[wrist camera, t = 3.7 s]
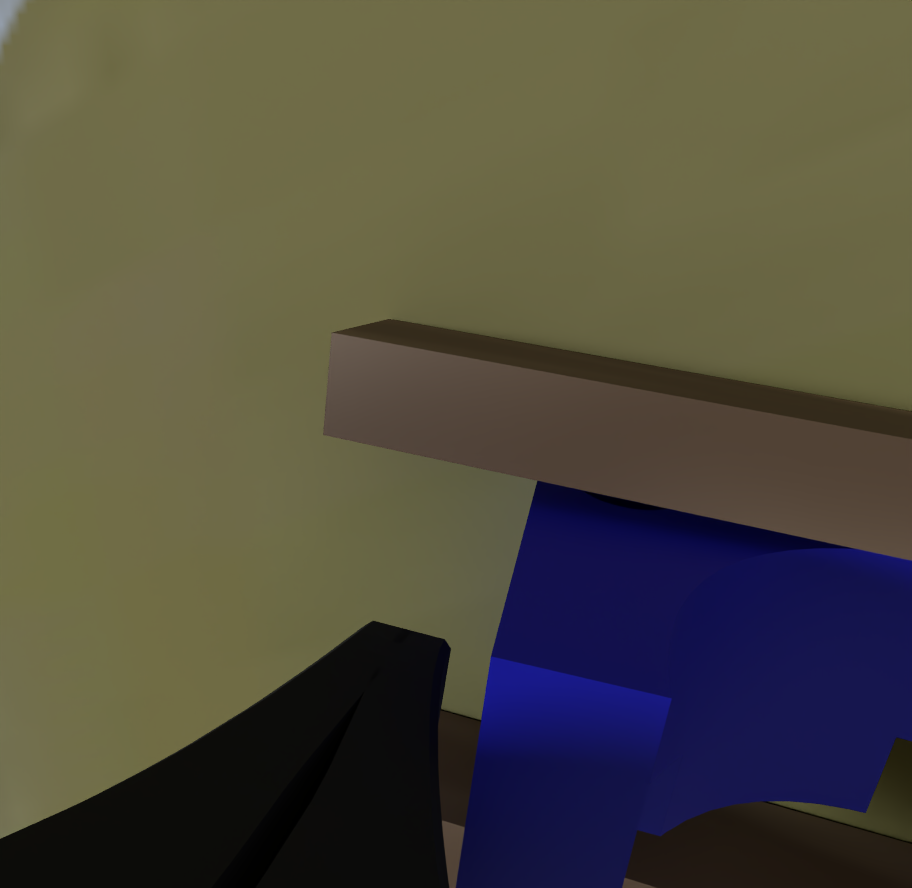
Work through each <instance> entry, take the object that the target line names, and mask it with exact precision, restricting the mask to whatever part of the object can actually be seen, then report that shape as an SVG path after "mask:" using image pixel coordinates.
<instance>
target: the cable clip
mask: <svg viewBox="0 0 912 888" xmlns="http://www.w3.org/2000/svg"><path fill="white" fill-rule="evenodd" d="M896 737H897V738H901V739H905V740H909V741H912V561H911V560H906V559H902V558H897V557H892V556H888V555H883V554H878V553H874V552H869V551H864V550H860V549H855V548H850V547H846V546H841V545H836V544H831V543H827V542H822V541H817V540H813V539H808V538H803V537H799V536H794V535H789V534H785V533H780V532H775V531H771V530H766V529H761V528H757V527H752V526H747V525H743V524H738V523H733V522H729V521H724V520H719V519H715V518H710V517H705V516H701V515H696V514H691V513H687V512H682V511H677V510H673V509H668V508H663V507H659V506H654V505H649V504H645V503H640V502H635V501H631V500H626V499H621V498H617V497H612V496H607V495H602V494H598V493H593V492H588V491H584V490H579V489H574V488H570V487H565V486H560V485H556V484H551V483H546V482H542V481H537V485H536V489H535V492H534V496H533V500H532V504H531V507H530V511H529V515H528V519H527V523H526V526H525V530H524V534H523V538H522V541H521V545H520V549H519V553H518V557H517V560H516V564H515V568H514V572H513V575H512V579H511V583H510V587H509V591H508V594H507V598H506V602H505V606H504V609H503V613H502V617H501V621H500V625H499V628H498V632H497V636H496V640H495V643H494V647H493V651H492V655H491V660H490V667H489V673H488V680H487V686H486V693H485V699H484V706H483V712H482V719H481V725H480V732H479V738H478V745H477V751H476V758H475V764H474V771H473V777H472V784H471V790H470V797H469V804H468V810H467V817H466V823H465V830H464V836H463V843H462V849H461V856H460V862H459V869H458V875H457V882H456V888H622V886H623V882H624V879H625V875H626V871H627V867H628V863H629V860H630V856H631V852H632V848H633V844H634V840H635V837H636V833H637V830H639V831H643V832H646V833H650V834H654V835H657V836H661V835H663V834H664V833H666V832H667V831H669V830H671V829H672V828H674V827H676V826H677V825H679V824H681V823H682V822H684V821H686V820H688V819H690V818H693V817H695V816H698V815H700V814H703V813H705V812H708V811H710V810H714V809H718V808H722V807H726V806H730V805H735V804H743V803H751V802H760V801H793V802H804V803H815V804H822V805H828V806H834V807H840V808H845V809H851V810H855V811H859V812H863V813H866V811H867V808H868V806H869V803H870V801H871V798H872V796H873V793H874V791H875V788H876V786H877V784H878V781H879V779H880V776H881V774H882V771H883V769H884V766H885V764H886V761H887V759H888V756H889V754H890V751H891V749H892V746H893V744H894V741H895V739H896Z"/></svg>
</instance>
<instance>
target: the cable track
mask: <svg viewBox="0 0 912 888" xmlns="http://www.w3.org/2000/svg"><path fill="white" fill-rule="evenodd" d="M323 435H327V436H331V437H336V438H341V439H345V440H350V441H355V442H359V443H364V444H369V445H373V446H378V447H383V448H387V449H392V450H397V451H402V452H406V453H411V454H416V455H420V456H425V457H430V458H434V459H439V460H444V461H448V462H453V463H458V464H462V465H467V466H472V467H476V468H481V469H486V470H490V471H495V472H500V473H504V474H509V475H514V476H518V477H523V478H528V479H532V480H537V481H542V482H546V483H551V484H556V485H560V486H565V487H570V488H574V489H579V490H584V491H588V492H593V493H598V494H602V495H607V496H612V497H617V498H621V499H626V500H631V501H635V502H640V503H645V504H649V505H654V506H659V507H663V508H668V509H673V510H677V511H682V512H687V513H691V514H696V515H701V516H705V517H710V518H715V519H719V520H724V521H729V522H733V523H738V524H743V525H747V526H752V527H757V528H761V529H766V530H771V531H775V532H780V533H785V534H789V535H794V536H799V537H803V538H808V539H813V540H817V541H822V542H827V543H831V544H836V545H841V546H846V547H850V548H855V549H860V550H864V551H869V552H874V553H878V554H883V555H888V556H892V557H897V558H902V559H906V560H911V561H912V412H910V411H905V410H899V409H894V408H888V407H882V406H877V405H871V404H865V403H860V402H854V401H848V400H843V399H837V398H831V397H826V396H820V395H814V394H809V393H803V392H798V391H792V390H786V389H781V388H775V387H769V386H764V385H758V384H752V383H747V382H741V381H735V380H730V379H724V378H719V377H713V376H707V375H702V374H696V373H690V372H685V371H679V370H673V369H668V368H662V367H656V366H651V365H645V364H640V363H634V362H628V361H623V360H617V359H611V358H606V357H600V356H594V355H589V354H583V353H577V352H572V351H566V350H561V349H555V348H549V347H544V346H538V345H532V344H527V343H521V342H515V341H510V340H504V339H498V338H493V337H487V336H482V335H476V334H470V333H465V332H459V331H453V330H448V329H442V328H436V327H431V326H425V325H419V324H414V323H408V322H403V321H397V320H391V319H387V320H383V321H379V322H375V323H370V324H366V325H362V326H358V327H354V328H349V329H345V330H341V331H337V332H332V337H331V349H330V361H329V373H328V385H327V397H326V409H325V421H324V433H323ZM480 725H481V722H480V721H476V720H473V719H469V718H466V717H462V716H459V715H455V714H452V713H448V712H445V711H440V717H439V723H438V768H439V788H440V802H441V815H442V827H443V838H444V847H445V856H446V865H447V873H448V881H449V888H456V882H457V875H458V869H459V862H460V856H461V849H462V843H463V836H464V830H465V823H466V817H467V810H468V804H469V797H470V790H471V784H472V777H473V771H474V764H475V758H476V751H477V745H478V738H479V732H480ZM622 888H912V844H910V843H906V842H903V841H899V840H896V839H892V838H889V837H885V836H882V835H878V834H874V833H871V832H867V831H864V830H860V829H857V828H853V827H850V826H846V825H843V824H839V823H836V822H832V821H829V820H825V819H822V818H818V817H815V816H811V815H808V814H804V813H801V812H797V811H793V810H790V809H786V808H783V807H779V806H776V805H772V804H769V803H765V802H762V801H760V802H751V803H743V804H735V805H730V806H726V807H722V808H718V809H714V810H710V811H708V812H705V813H703V814H700V815H698V816H695V817H693V818H690V819H688V820H686V821H684V822H682V823H681V824H679V825H677V826H676V827H674V828H672V829H671V830H669V831H667V832H666V833H664V834H663V835H661V836H657V835H654V834H650V833H646V832H643V831H639V830H637V833H636V837H635V840H634V844H633V848H632V852H631V856H630V860H629V863H628V867H627V871H626V875H625V879H624V882H623V886H622Z"/></svg>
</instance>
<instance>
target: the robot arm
mask: <svg viewBox="0 0 912 888" xmlns="http://www.w3.org/2000/svg"><path fill="white" fill-rule="evenodd" d="M450 651H451V648H450V647H449V645H448V644H447V642H446V641H445V639H441V638H437V637H434V636H430V635H426V634H422V633H418V632H414V631H411V630H407V629H403V628H399V627H395V626H391V625H388V624H384V623H380V622H376V621H372V622H370V623H368V624H367V625H365V626H364V627H362V628H361V629H359V630H358V631H357V632H355V633H354V634H353V635H351V636H350V637H349V638H347V639H346V640H345V641H343V642H342V643H341V644H339V645H338V646H337V647H335V648H334V649H333V650H331V651H330V652H329V653H327V654H326V655H324V656H323V657H322V658H320V659H319V660H318V661H316V662H315V663H313V664H312V665H311V666H309V667H308V668H306V669H305V670H304V671H302V672H301V673H299V674H298V675H296V676H295V677H294V678H292V679H291V680H289V681H288V682H286V683H285V684H283V685H282V686H280V687H279V688H278V689H276V690H275V691H273V692H272V693H270V694H269V695H267V696H266V697H264V698H263V699H261V700H260V701H258V702H257V703H255V704H254V705H252V706H251V707H249V708H248V709H246V710H245V711H243V712H241V713H240V714H238V715H236V716H235V717H233V718H232V719H230V720H228V721H227V722H225V723H224V724H222V725H220V726H219V727H217V728H215V729H214V730H212V731H211V732H209V733H207V734H206V735H204V736H202V737H201V738H199V739H198V740H196V741H194V742H193V743H191V744H189V745H188V746H186V747H184V748H182V749H181V750H179V751H177V752H175V753H174V754H172V755H170V756H168V757H167V758H165V759H163V760H161V761H160V762H158V763H156V764H154V765H152V766H150V767H149V768H147V769H145V770H143V771H141V772H139V773H138V774H136V775H134V776H132V777H130V778H128V779H126V780H124V781H122V782H120V783H118V784H116V785H115V786H113V787H111V788H109V789H107V790H105V791H103V792H101V793H99V794H97V795H95V796H93V797H91V798H89V799H87V800H85V801H83V802H81V803H79V804H77V805H74V806H72V807H70V808H68V809H66V810H64V811H61V812H59V813H57V814H55V815H53V816H50V817H48V818H46V819H44V820H41V821H39V822H37V823H35V824H32V825H30V826H28V827H26V828H24V829H21V830H19V831H17V832H15V833H12V834H10V835H8V836H6V837H3V838H1V839H0V888H449V881H448V873H447V865H446V856H445V847H444V838H443V827H442V815H441V802H440V788H439V768H438V723H439V717H440V711H441V705H442V699H443V693H444V687H445V681H446V675H447V669H448V663H449V657H450Z"/></svg>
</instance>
